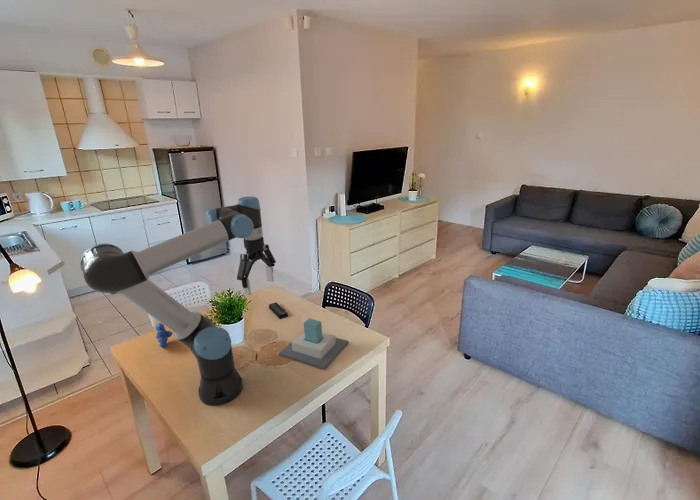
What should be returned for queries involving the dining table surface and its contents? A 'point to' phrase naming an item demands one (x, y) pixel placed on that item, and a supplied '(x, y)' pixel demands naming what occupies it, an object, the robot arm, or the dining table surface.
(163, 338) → the grapes
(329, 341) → the socket block
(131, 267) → the robot arm
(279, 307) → the multiport hub
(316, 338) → the teal peg
